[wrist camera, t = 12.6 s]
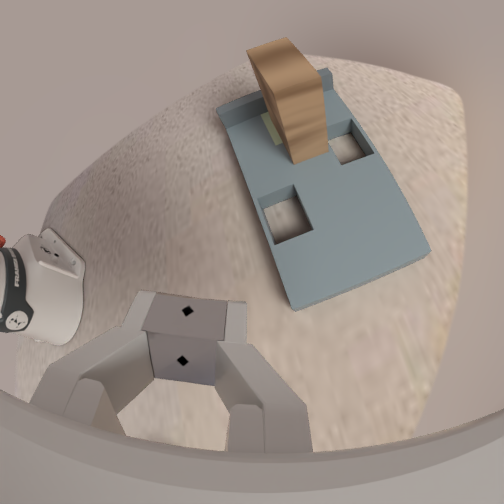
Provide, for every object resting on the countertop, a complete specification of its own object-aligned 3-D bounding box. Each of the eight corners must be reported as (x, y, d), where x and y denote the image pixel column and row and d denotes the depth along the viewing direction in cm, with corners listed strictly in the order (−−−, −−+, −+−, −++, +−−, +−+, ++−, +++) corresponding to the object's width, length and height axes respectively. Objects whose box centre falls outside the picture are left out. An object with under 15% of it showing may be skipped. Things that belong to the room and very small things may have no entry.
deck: (423, 258, 30) (440, 242, 24) (295, 311, 32) (288, 306, 26) (329, 96, 39) (327, 67, 33) (230, 134, 41) (215, 108, 35)
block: (328, 151, 33) (321, 76, 22) (293, 164, 34) (273, 92, 22) (302, 108, 36) (286, 37, 24) (271, 119, 36) (246, 50, 25)
